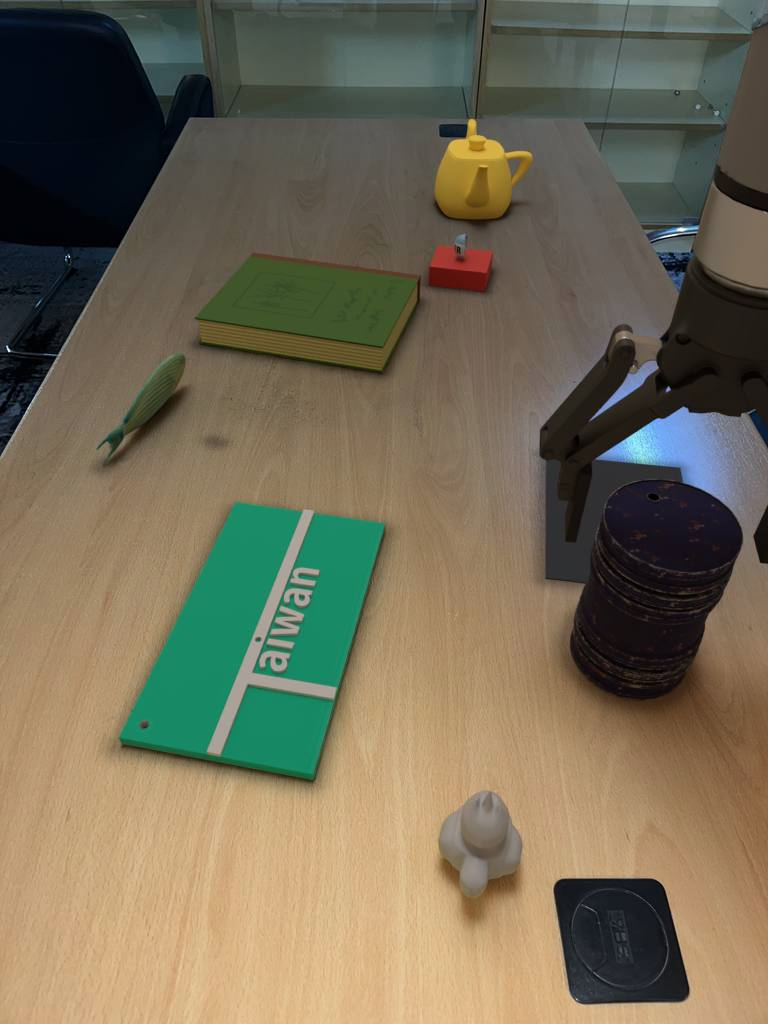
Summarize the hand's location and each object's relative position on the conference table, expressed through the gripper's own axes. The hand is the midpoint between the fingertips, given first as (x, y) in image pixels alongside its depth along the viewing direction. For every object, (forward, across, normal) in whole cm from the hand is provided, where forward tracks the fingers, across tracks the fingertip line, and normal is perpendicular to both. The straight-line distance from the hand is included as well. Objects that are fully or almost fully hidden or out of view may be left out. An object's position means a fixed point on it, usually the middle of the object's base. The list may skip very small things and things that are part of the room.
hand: (664, 540), depth 59 cm
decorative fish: (+14, +47, -22) cm, 54 cm away
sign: (+13, +30, +2) cm, 33 cm away
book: (+14, +38, -49) cm, 63 cm away
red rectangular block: (+14, +19, -64) cm, 68 cm away
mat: (+13, 0, -16) cm, 21 cm away
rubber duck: (+13, +11, +20) cm, 26 cm away
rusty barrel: (+13, 0, 0) cm, 13 cm away
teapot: (+14, +18, -90) cm, 93 cm away
